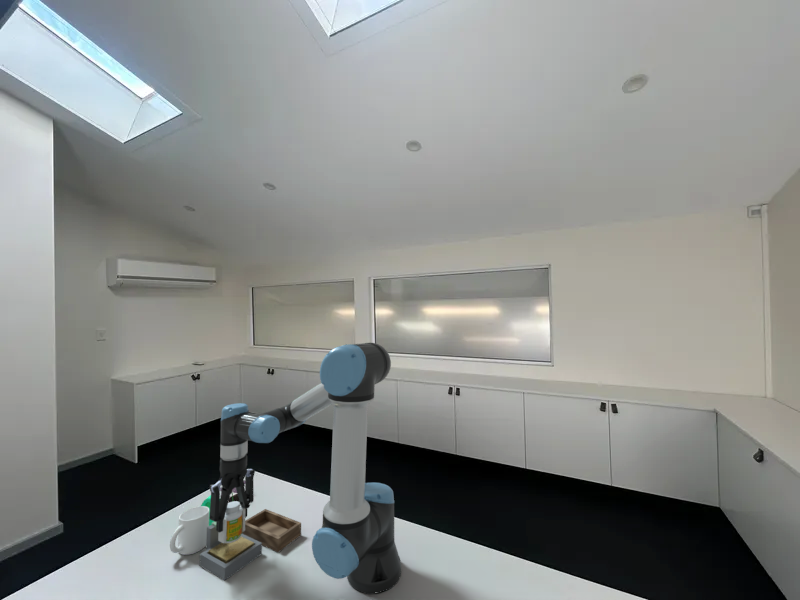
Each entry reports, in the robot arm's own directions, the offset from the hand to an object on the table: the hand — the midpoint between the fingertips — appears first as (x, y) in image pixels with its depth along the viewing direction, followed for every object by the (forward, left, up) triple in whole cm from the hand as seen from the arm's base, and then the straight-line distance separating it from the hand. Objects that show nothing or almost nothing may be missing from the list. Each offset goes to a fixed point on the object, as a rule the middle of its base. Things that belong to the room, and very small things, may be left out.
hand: (231, 535), depth 99 cm
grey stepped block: (+1, 0, -7) cm, 7 cm away
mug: (+16, +4, -7) cm, 18 cm away
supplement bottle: (0, 0, -1) cm, 1 cm away
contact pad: (0, 0, -5) cm, 5 cm away
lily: (+33, -22, -7) cm, 41 cm away
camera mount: (+23, -9, -7) cm, 26 cm away
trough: (-1, -14, -7) cm, 15 cm away
